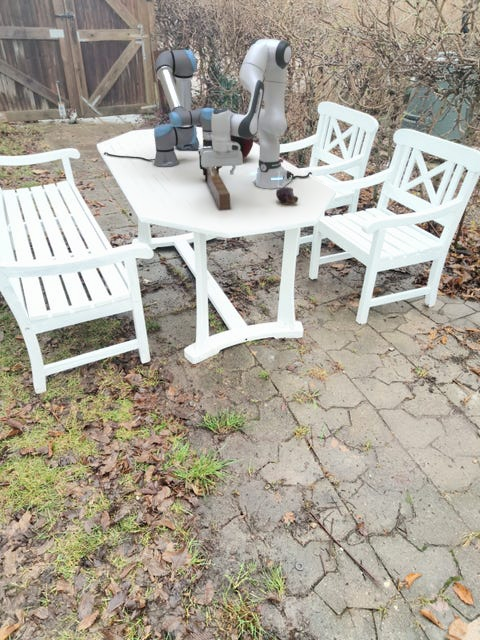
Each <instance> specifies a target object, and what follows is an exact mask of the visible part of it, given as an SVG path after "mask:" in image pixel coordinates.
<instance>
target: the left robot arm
mask: <svg viewBox="0 0 480 640" xmlns="http://www.w3.org/2000/svg"><path fill="white" fill-rule="evenodd" d="M154 71H155V75H156V77H157V79H158V80H159V81H160V84H161V87H162V89H163V93H164V95H165V97H166V101H167V105H169V106H168V108H169V110H170V113H169V115H168V116H169V123H165V124H160V125H156V127H155V128H154V129H153V136H154V145H155V155H154V158H145V157H141V156H132V155H117V154H110V153H109V152H107V151H105V152H104V153H103V155H108V156H111V157H116V158H117V157H118V158H130V159H140V160H144V161H148V162H150V161H154V165H155V166H157V167H163V168H164V167H165V168H167V167H168V168H169V167H174V166H177V165H178V164H179V159H178V157H177V153H176V151H175V146H179V145H189V144H193V143H194V142H195V141H196V137H197V138H198V131H197V127H196V126H198V125H199V126H200V125H201V130H202V148H203V147H208V146H212V136H213V133H212V128H211V119H212V113H213V111H214V110H215V108H212V107H204V108H196V109H193V110H192V100H191V99H192V93H191V92H192V91H191V87H192V86H191V83H192V82H191V81H192V79H193V77H194V74H195V73H196V72H197V60H196V57H195V54H194V52H193V51H192V50H191V49H175V50H174V49H173V50H169V49H167V50H164V51H161V52H160V54H158V56H157V57H156V60H155V64H154ZM197 153H198V160H199V169H200V170H202V175H203V176H204V180H205V183H207V170H206V169H205V168H206V167H203V166H202V165H201V155H200V150H198V151H197ZM215 168H216V170H217V172H218V174H219V175H220V169H222V168H223V166H218V167H215Z"/></svg>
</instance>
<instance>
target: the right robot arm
mask: <svg viewBox="0 0 480 640" xmlns="http://www.w3.org/2000/svg"><path fill="white" fill-rule="evenodd" d="M292 56H293V48H292V46H291V44H290V42H287V41H285V40H279V39H275V38H263V39H262V38H254V39H253V40H251V42H250V44H249V45H248V48H247V52H246V54H245V56H244V59H243V61H242V63H241V66H240V69H239V71H238V72H239V73H238V80H239V82H240V84H241V86H242V87H243V88H244V89H245V90H246V91H247V92H249V94H250V100H249V103H248V104H249V105H248V109H247V113H246V114H239V113H235V112H233V111H231V110H229V108H228V107H225V106H221V107H216V108H214V111H213V113H212V119H211V128H212V133H213V136H212V146H208V147H203V146H202V147H201V148H200V149H199V151H200V155H201V165H202V167H209V170H210V171H211V176H215V175H214V171H212V170H211V169H212V167H215V168H216V167H218V166H222V167H232V168H231V170H229V175H231V176H232V175H235V174H234V173H235V172H234V171H235V170H236V167H237V166H242V165H243V163H244V159H243V156H242V152H241V151H240V145H239V144H238V143H237V142H233V141H231V138H230V135H233V136H238V137H242V138H245V139H251V138H254V137H255V135H256V134H257V137H258V143H259V158H258V167H257V169H256V171H255V172H251V173H250V174H249V175H250V176H253V175H256V178H255V180H254V184H255V185H256V187H258V188H261V189H272V190H273V189H280V188H283V187H287V185H288V184H289V183H290V182H292V180H294V179H296V178H300V179H306V178H309V176H310V175H313V172H311V171H309V172H308V173H307V175H294V173H293V172H291V171H289V170H287V169H285V168H284V167H283V166H282V163H283V164H284V161H285V160H284V158H280V155H281V143H280V141H279V138H278V136H282V135H284V134H285V133H286V131H287V129H288V121H287V119H286V109H285V108H286V107H285V96H286V87H287V79H288V78H287V77H288V65H289V64H290V62H291V61H292ZM263 79H264V81H263ZM263 102H264V108H263V109H262V105H263Z"/></svg>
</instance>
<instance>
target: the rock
mask: <svg viewBox="0 0 480 640" xmlns="http://www.w3.org/2000/svg"><path fill="white" fill-rule="evenodd" d="M275 192H276V193H275V195H276V198H277V200H278V202H279V203H280V204H283V205H289V204H292V205H294V204H296V203H298V201H299V197H298V196H297V195H295V194H294V188H292V187H291V186H284V187H283V188H278V189H276V191H275Z"/></svg>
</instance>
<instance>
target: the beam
mask: <svg viewBox="0 0 480 640" xmlns="http://www.w3.org/2000/svg"><path fill="white" fill-rule="evenodd" d="M205 169H206V170H207V182H206V183H207V185H208V187H209V190H210V191H211V194H212V196H213V198H214V200H215V202H216V203H215V204H216V205H217V207H218V209H219V211H223V210H231V196H230V195H231V194H230V192H229V190H228V188H227V187H226V185H225V183H224V181H223V179H222V177H221V176H220V173H219V174H218V172H217V170H216V167H212V169H211V170H212V171H214V175H215V176H211V171H210V170H209V167H206V168H205Z"/></svg>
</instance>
